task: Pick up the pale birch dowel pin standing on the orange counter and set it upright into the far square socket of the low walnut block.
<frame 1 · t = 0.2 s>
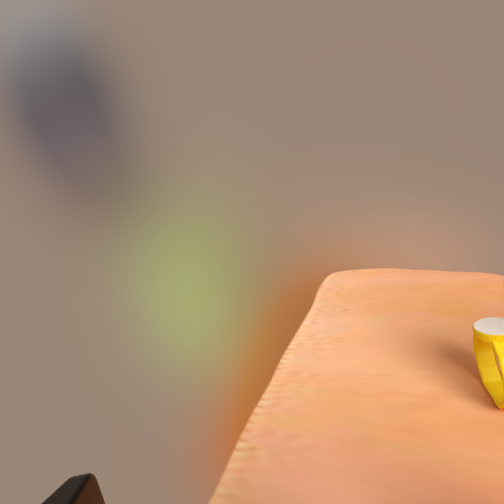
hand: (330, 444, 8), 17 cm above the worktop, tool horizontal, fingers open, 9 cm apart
yellow round part: (500, 397, 31), on the worktop
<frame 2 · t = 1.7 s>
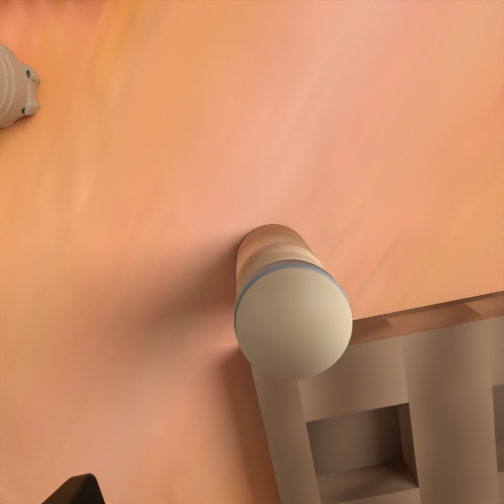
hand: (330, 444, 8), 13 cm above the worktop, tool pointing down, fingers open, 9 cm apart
handle: (10, 89, 19), on the worktop
pin: (272, 260, 21), on the worktop
bore block: (431, 408, 23), on the worktop
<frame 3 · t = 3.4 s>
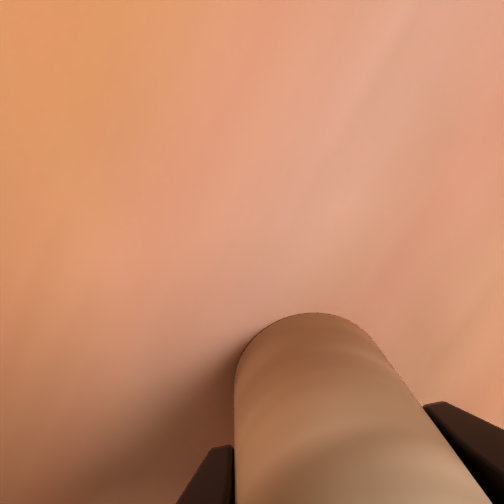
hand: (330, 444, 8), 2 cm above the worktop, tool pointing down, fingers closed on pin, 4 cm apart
pin: (310, 384, 10), on the worktop, touching gripper
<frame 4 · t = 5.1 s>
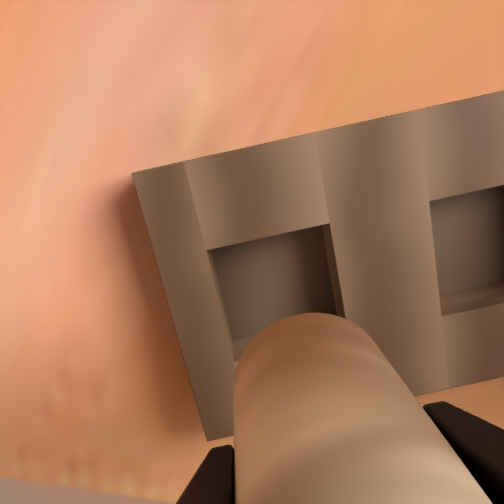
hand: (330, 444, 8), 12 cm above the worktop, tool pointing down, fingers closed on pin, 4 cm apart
pin: (310, 384, 10), point 10 cm above the worktop, touching gripper
bore block: (368, 256, 20), on the worktop
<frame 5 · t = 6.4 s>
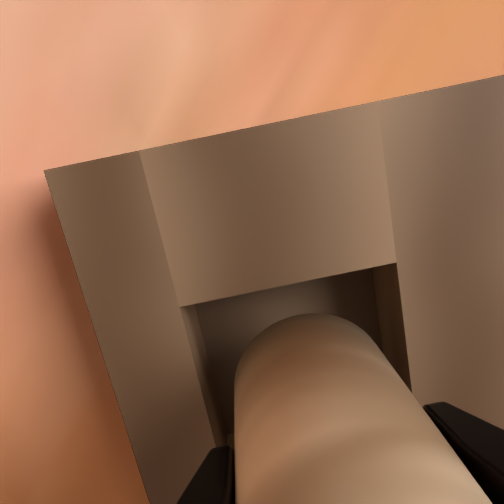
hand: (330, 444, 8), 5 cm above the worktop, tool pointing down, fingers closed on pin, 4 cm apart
pin: (310, 384, 10), point 3 cm above the worktop, touching gripper
bore block: (439, 305, 12), on the worktop
when the fingers open (3 cm above the worktop, at t = 7.0 s): pin stays where it is, resting on bore block.
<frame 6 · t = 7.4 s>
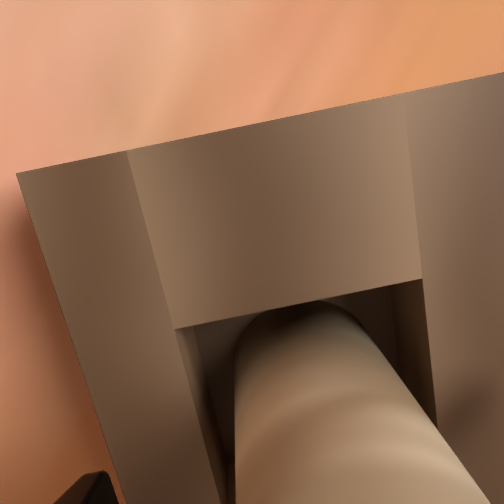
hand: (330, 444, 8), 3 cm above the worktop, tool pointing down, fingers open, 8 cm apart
pin: (303, 364, 11), point 1 cm above the worktop, touching bore block
bore block: (463, 322, 11), on the worktop
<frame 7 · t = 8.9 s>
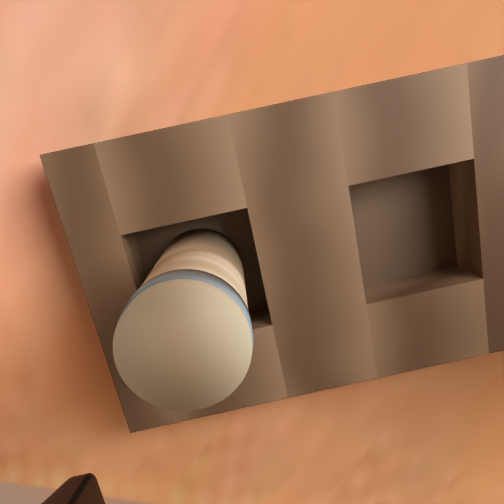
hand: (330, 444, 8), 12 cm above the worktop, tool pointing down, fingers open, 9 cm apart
pin: (202, 267, 19), point 1 cm above the worktop, touching bore block
bore block: (298, 244, 19), on the worktop
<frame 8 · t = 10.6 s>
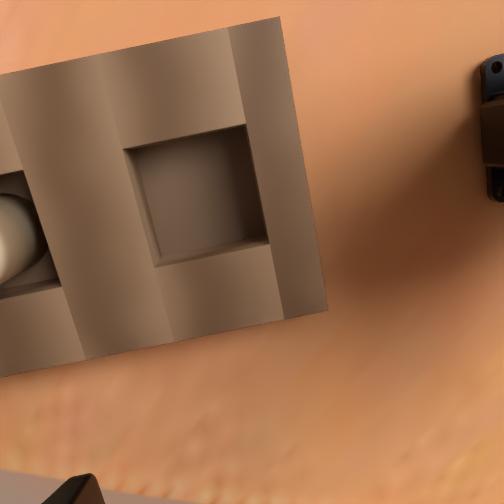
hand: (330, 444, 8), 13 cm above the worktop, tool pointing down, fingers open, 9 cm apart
pin: (9, 232, 19), point 1 cm above the worktop, touching bore block
bore block: (108, 211, 20), on the worktop
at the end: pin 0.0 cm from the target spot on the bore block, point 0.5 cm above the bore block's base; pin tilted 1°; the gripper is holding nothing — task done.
